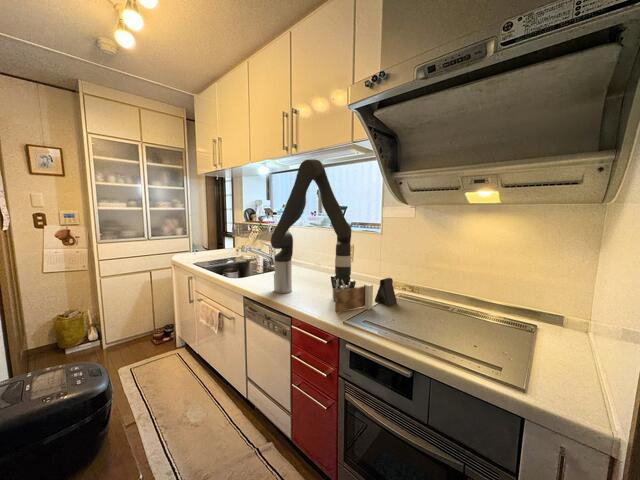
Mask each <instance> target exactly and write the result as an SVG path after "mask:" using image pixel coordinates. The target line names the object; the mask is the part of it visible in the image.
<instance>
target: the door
mask: <svg viewBox="0 0 640 480" xmlns="http://www.w3.org/2000/svg"><path fill="white" fill-rule="evenodd" d="M366 285H367V284H363V285H362V286H361V285H360V286H355V287H354V288H350V289H344V290H339V291H335V302H334V312H335V313H336V314H337V313H343V312H346V311H351V310H354V309H355V310H357V309H359V308H362V307H363V308H365V286H366Z"/></svg>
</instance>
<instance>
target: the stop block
mask: <svg viewBox="0 0 640 480" xmlns="http://www.w3.org/2000/svg"><path fill="white" fill-rule="evenodd" d="M339 290H344V288H343V286H341V287H340V288H337V289H334V298H333V302H334V303H335V291H339Z"/></svg>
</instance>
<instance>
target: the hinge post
mask: <svg viewBox="0 0 640 480" xmlns="http://www.w3.org/2000/svg"><path fill="white" fill-rule="evenodd" d="M365 285H366V286H365V306H364V309H366V310H371V309H372V308H373V298H374V297H373V293H374V285H373V284H371V283H368V284H365Z"/></svg>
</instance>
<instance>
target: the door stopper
mask: <svg viewBox="0 0 640 480" xmlns="http://www.w3.org/2000/svg"><path fill="white" fill-rule="evenodd" d="M393 281H394V280H393V278H392V277H386V278H383V279H380V281H379V288H378V289H377V293H376V295H375V298H374V302H376V303H378V304H380V303H381V305H383V304H384V305H383V306H386V305H387V306H386V307H391V306H393V305H394V304H395V305H397V304H398V301H397V296H396V293H395V290H394V285H393V284H394V283H393Z"/></svg>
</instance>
